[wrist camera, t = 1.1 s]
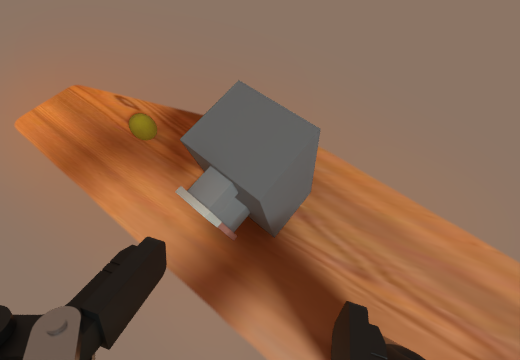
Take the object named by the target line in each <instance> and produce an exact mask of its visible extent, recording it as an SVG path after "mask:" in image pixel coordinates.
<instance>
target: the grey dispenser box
mask: <svg viewBox="0 0 520 360" xmlns="http://www.w3.org/2000/svg"><path fill="white" fill-rule="evenodd" d="M319 135H320V128H318V127H316V126H315V125H313V124H311V123H310V122H308V121H306V120H305V119H303V118H301V117H300V116H298V115H296V114H295V113H293V112H291V111H289V110H288V109H286V108H285V107H283V106H281V105H280V104H278V103H276V102H274V101H273V100H271V99H269V98H268V97H266V96H264V95H263V94H261V93H259V92H258V91H256V90H254V89H253V88H251V87H249V86H248V85H246V84H244V83H243V82H240V81H238V82H237V83H236V84H235V85H234V86H233V87H232V88H231V89H230V90H229V91H228V92H227V93H226V94H225V95H224V96H223V97H222V98H221V99H220V100H219V101H218V102H217V103H216V104H215V105H214V106H213V107H212V108H211V109H210V110H209V111H208V112H207V113H206V114H205V115H204V116H203V117H202V118H201V119H200V120H199V121H198V122H197V123H196V124H195V125H194V126H193V127H192V128H191V129H190V130H189V131H188V132H187V133H186V134H185V135H184V136H183V137H182V138H181V139H180V140H181V142H182V143H183V144H184V146H185V147H186V148H187V149H188V151H189V152H190V153H191V155H192V156H193V157H194V159H195V160H196V161H197V162H198V164H199V165H200V166H201V168H202V169H203V170H204V171H206V170H207V169H208V168H209V167H210V166H211V167H213V168H214V169H215V170H216V171H218V172H219V173H220V174H222V175H223V176H224V177H225V178H227V179H228V180H229V181H231V182H232V183H233V184H234V186H235V187H236V189H237V191H238V194H237V195H236V196H235V198H236V199H237V200H238V201H240V202H241V203H242V204H243V205H245V206H246V207H247V208H248V210H249V211H250V214H249V215H248V217H250V218H251V219H252V220H253V221H254V222H256V223H257V224H258V225H259V226H261V227H262V228H263V229H264V230H266V231H267V232H268V233H269V234H270V235H272V236H273V237H274V238H275V236H276V235H277V234H278V233H279V231H280V230H281V229H282V228H283V226H284V225H285V224H286V222H287V221H288V220H289V219H290V217H291V216H292V215H293V214H294V212H295V211H296V210H297V209H298V207H299V206H300V205H301V204H302V202H303V201H304V200H305V199H306V197H307V196H308V195H309V194H310V192H311V186H312V180H313V174H314V167H315V161H316V155H317V148H318V142H319Z"/></svg>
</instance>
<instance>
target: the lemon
mask: <svg viewBox="0 0 520 360" xmlns="http://www.w3.org/2000/svg"><path fill="white" fill-rule="evenodd" d="M129 128H130V130H131V132H132V133H133V134H134V135H135V136H136V137H137V138H139V139H141V140H151V139H152V138H154V137H155V135H156V133H157V126H156V124H155V122H154V121H153V119H152V118H150V117H149V116H147V115H146V114H142V113H138V114H135V115H133V116H132V117H131V118H130V120H129Z"/></svg>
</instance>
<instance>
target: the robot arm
mask: <svg viewBox="0 0 520 360" xmlns="http://www.w3.org/2000/svg"><path fill="white" fill-rule="evenodd" d="M166 265H167V263H166V246H165V242H164V241H161V240H158V239H155V238H151V237H146V238H145V239H144V240H143V241H142V242H141V243H140V244H139V245H138V246H135V245H131V246H129V247H127V248H125V249H124V250H122V251H120V252H119V253H118V254H117V255H116V256H115V257H114V258H113V259H112V260H111V261H110V263H108V264H107V265H106V266H105V267H104V268H103V270H102V271H100V272H99V273H98V274H97V275H96V276H95V277H94V278H93V279H92V280H91V281H90V282H89V283H88V284H87V285H86V286H85V287H84V288H83V289H82V290H81V291H80V292H79V293H78V294H77V295H76V296H75V297H74V298H73V299H72V300H71V301H70V302H69V303H68V304H66V305H65V306H63V307H58V308H55V309H53V310H51V311H49V312H47V313H46V314H43V315H12V313H11V312H10V310H9V309H8V308H7V307H5V306H1V305H0V360H95V352H96V351H97V350H98V348H99V347H100V346H101V347H103V348H106V349H108V350H109V349H110V348H111V347H112V345H113V344H114V343H115V341H116V340H117V339H118V337H119V336H120V334H121V333H122V332H123V330H124V329H125V328H126V326H127V325H128V323H129V322H130V321H131V319H132V318H133V316H134V315H135V314H136V312H137V311H138V310H139V308H140V307H141V305H142V304H143V303H144V301H145V300H146V299H147V297H148V296H149V294H150V293H151V292H152V290H153V289H154V288H155V286H156V285H157V283H158V282H159V281H160V279H161V278H162V276H163V274H164V272H165V270H166ZM331 360H425V359H424V358H423V357H421V356H420V355H418V354H417V353H415V352H413V351H411V350H409V349H407V348H405V347H403V346H401V345H399V344H397V343H396V342H394V341H392V340H390V339H388V338H386V337H384V336H383V335H382V334H381V332H380V330H379V327H378V326H375V325H372V324H369V320H368V310H367V308H366V307H364V306H361V305H358V304H355V303H352V302H349V301H346V303H345V304H344V306H343V308H342V310H341V312H340V314H339V316H338V318H337V320H336V322H335V325H334V328H333V335H332V350H331Z"/></svg>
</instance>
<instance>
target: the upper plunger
mask: <svg viewBox="0 0 520 360" xmlns="http://www.w3.org/2000/svg"><path fill="white" fill-rule="evenodd" d="M176 193H177V194H178V195H180V196H181V197H182V198H183V199H184V200H185V201H186V202H188V203H189V204H190V205H191V206H192V207H193V208H194V209H196V210H197V211H198V212H199V213H200V214H201V215H202V216H203V217H205V218H206V219H207V220H208V221H210V222H211V223H212V224H213V225H215V226H216V227H218V226H219V225H220V224H221V223H222V222H221V221H220V220H219V219H218V218H217V217H218V216H219V214H220V213H221V212H222V211H223V210H224V209H225V208H226V206H227V205H228V204H229V203H230V202H231V201H232V200H233V198H234V197H235V196H236V195H237V194H238V191H237V189H236V187H235V186H234V184H233V183H232V182H231V181H229V180H228V179H227V178H225V177H224V176H223V175H222V174H220V173H219V172H218V171H216V170H215V169H214V168H213V167H211V166H210V167H209V168H208V169H207V170H206V171H205V172H204V173H203V175H202V176H201V177H200V178H199V179H198V180H197V181H196V182H195V183H194V184H193V185H192V186H191V187H190V188H189V190H188V191H186V190H185V189H184V188H183V187H181V186H180V187H179V188H178V189H177V190H176Z"/></svg>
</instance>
